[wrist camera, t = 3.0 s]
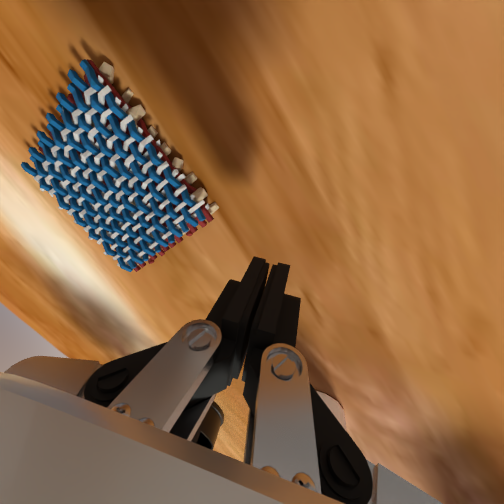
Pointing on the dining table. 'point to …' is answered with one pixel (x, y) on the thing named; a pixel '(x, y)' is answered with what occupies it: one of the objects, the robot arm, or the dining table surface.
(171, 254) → the dining table surface
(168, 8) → the dining table surface
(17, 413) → the robot arm
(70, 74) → the woven mat
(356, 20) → the dining table surface
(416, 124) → the dining table surface
